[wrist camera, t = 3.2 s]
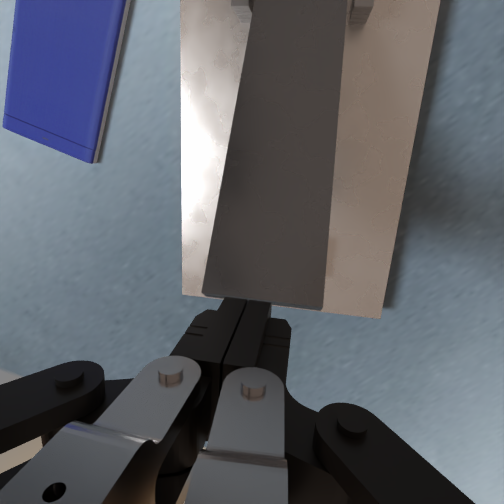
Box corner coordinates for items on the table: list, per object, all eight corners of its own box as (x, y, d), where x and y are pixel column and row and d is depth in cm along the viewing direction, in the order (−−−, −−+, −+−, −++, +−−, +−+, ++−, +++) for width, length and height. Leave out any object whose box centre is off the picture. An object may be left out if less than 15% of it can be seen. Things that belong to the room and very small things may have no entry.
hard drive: (17, -50, 24) (-1, 126, 29) (123, -9, 24) (89, 164, 28) (34, -39, 26) (14, 127, 30) (134, 0, 26) (100, 163, 30)
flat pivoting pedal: (262, -8, 21) (260, -41, 20) (346, -8, 21) (351, -42, 19) (208, 298, 16) (198, 290, 14) (320, 312, 15) (324, 305, 14)
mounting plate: (190, -40, 24) (160, -85, 19) (439, -44, 22) (475, -95, 17) (190, 285, 31) (168, 310, 27) (375, 307, 29) (388, 339, 24)
